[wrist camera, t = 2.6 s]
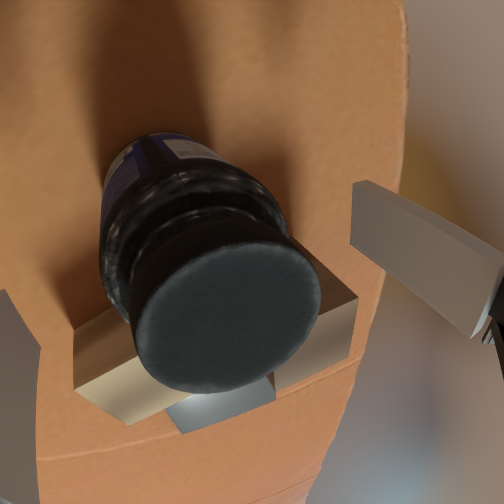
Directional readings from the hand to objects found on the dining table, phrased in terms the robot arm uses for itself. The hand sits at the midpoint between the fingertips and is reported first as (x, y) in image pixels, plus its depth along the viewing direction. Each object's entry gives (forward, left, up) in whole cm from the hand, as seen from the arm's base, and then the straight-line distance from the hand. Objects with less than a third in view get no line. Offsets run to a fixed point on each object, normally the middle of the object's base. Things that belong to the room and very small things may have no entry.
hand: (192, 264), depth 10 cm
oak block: (+9, -5, -7) cm, 12 cm away
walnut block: (+8, +5, -7) cm, 12 cm away
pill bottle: (0, 0, -7) cm, 7 cm away
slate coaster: (+18, 0, -7) cm, 19 cm away
